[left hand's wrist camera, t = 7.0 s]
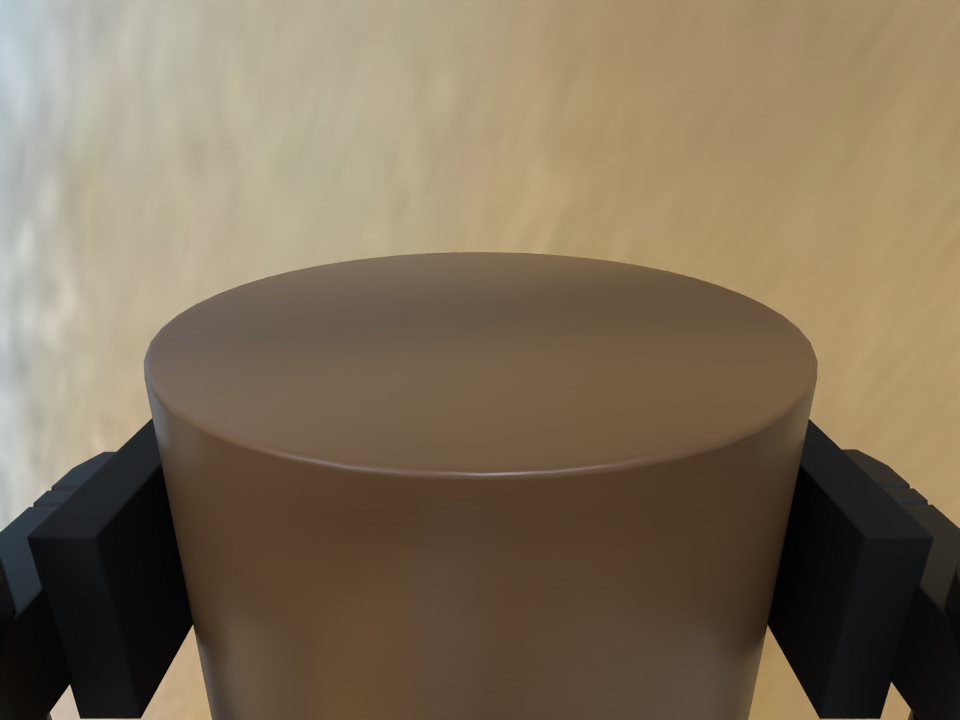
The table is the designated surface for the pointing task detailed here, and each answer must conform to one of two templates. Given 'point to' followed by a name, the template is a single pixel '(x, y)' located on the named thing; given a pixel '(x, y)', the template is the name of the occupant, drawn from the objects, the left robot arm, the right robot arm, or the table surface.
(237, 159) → the table surface
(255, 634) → the rod
